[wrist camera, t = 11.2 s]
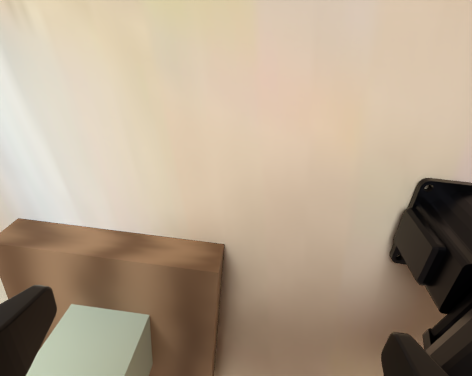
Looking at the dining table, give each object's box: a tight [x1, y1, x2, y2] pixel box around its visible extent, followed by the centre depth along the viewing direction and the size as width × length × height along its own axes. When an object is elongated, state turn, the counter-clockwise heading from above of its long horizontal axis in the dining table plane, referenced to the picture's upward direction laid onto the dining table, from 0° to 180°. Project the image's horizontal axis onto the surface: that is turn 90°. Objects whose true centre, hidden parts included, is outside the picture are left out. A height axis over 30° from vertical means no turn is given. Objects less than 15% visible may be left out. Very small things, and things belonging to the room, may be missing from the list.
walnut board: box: [0, 219, 224, 376], centre depth 26 cm, size 16×16×3 cm
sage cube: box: [26, 304, 153, 376], centre depth 23 cm, size 6×6×6 cm
